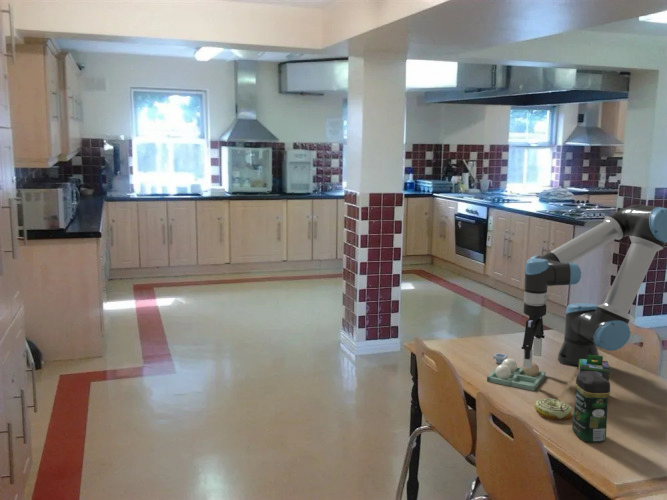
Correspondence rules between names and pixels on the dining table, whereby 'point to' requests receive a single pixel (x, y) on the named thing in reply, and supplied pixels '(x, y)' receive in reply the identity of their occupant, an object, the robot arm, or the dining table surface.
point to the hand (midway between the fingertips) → (532, 361)
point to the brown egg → (531, 370)
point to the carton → (519, 379)
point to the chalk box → (595, 366)
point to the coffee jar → (591, 407)
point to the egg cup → (499, 359)
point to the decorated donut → (553, 409)
